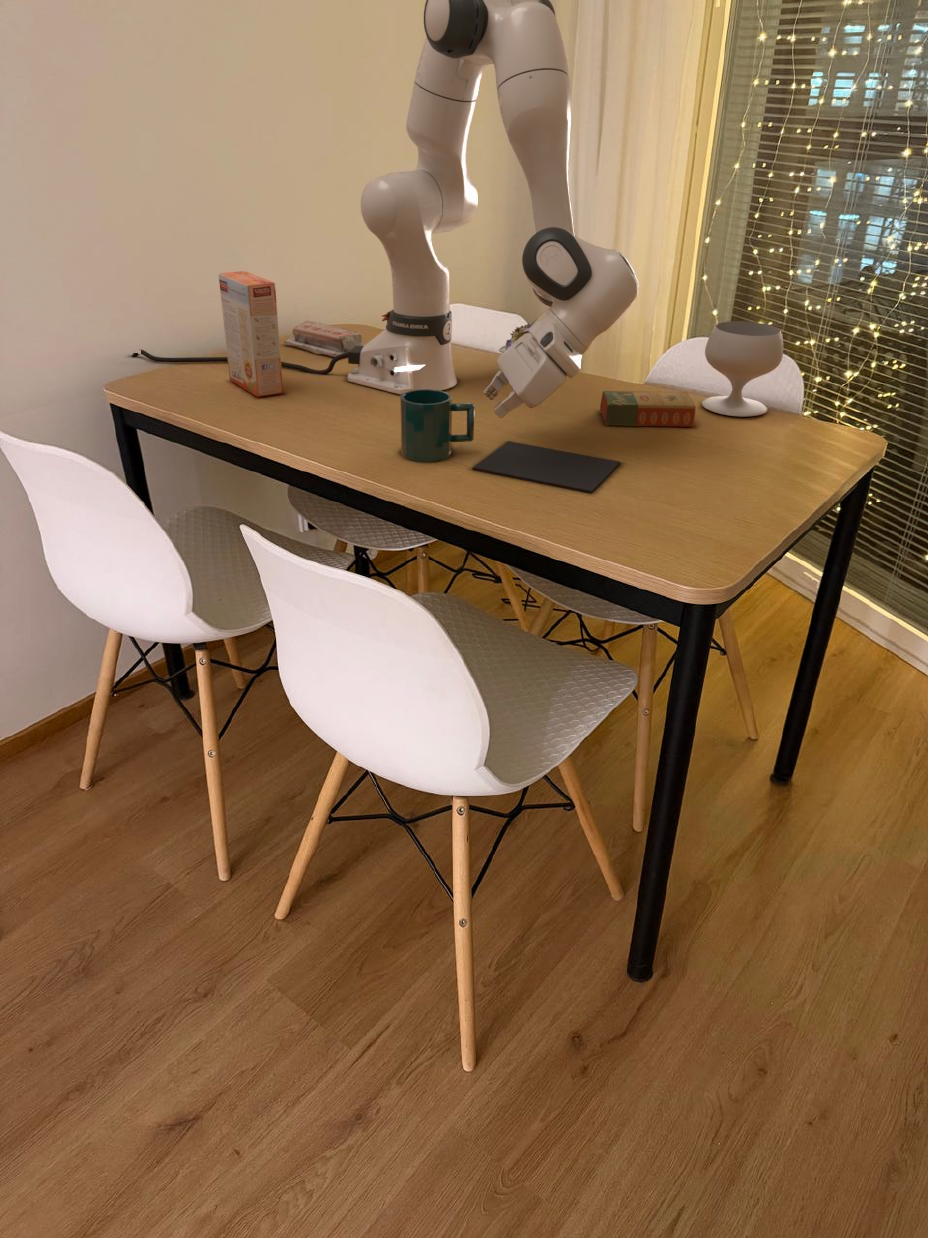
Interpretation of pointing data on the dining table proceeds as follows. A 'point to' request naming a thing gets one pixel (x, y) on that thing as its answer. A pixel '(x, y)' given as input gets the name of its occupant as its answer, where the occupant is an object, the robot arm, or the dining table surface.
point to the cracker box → (251, 332)
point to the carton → (647, 408)
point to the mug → (430, 424)
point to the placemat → (548, 466)
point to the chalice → (742, 362)
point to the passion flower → (516, 335)
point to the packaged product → (324, 339)
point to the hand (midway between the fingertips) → (491, 405)
